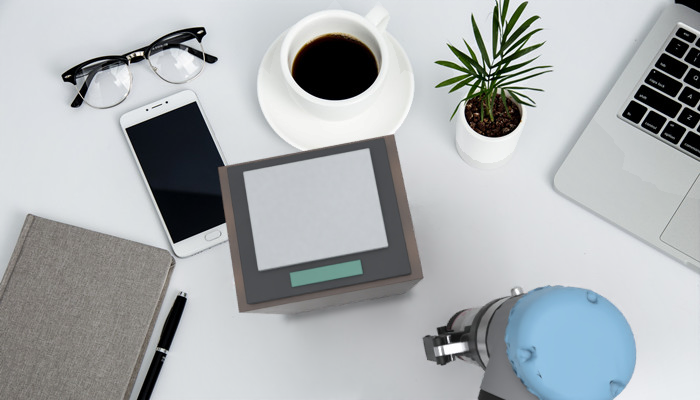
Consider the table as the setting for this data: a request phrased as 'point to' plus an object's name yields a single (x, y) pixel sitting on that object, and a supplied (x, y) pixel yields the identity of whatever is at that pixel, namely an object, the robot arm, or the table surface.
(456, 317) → the beverage can
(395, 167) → the stand
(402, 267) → the scale
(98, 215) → the table surface
